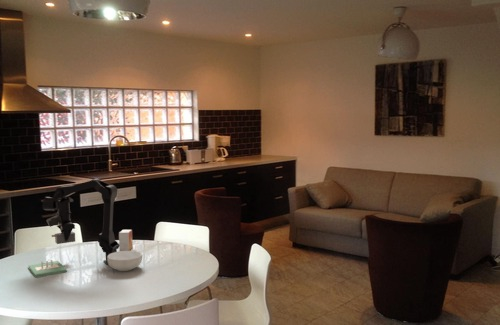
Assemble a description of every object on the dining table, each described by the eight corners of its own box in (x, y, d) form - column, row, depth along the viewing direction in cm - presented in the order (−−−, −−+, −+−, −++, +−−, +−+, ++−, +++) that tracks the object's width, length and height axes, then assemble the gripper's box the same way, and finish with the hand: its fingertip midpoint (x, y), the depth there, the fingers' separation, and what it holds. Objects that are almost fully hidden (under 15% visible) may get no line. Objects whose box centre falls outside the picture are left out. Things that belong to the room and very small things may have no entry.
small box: (129, 251, 275) (128, 232, 274) (119, 251, 275) (118, 232, 274) (132, 247, 283) (132, 229, 282) (123, 247, 283) (122, 229, 282)
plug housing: (75, 241, 258) (74, 233, 257) (53, 244, 252) (52, 236, 251) (73, 239, 261) (72, 231, 261) (51, 242, 255) (50, 234, 255)
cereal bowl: (133, 275, 233) (133, 260, 232) (101, 273, 236) (100, 258, 236) (148, 264, 250) (147, 250, 249) (117, 263, 253) (117, 249, 252)
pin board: (66, 271, 239) (66, 263, 239) (35, 277, 231) (35, 268, 231) (57, 262, 254) (57, 254, 254) (28, 267, 246) (28, 259, 246)
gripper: (43, 209, 259) (45, 238, 260) (51, 215, 243) (52, 246, 245) (65, 207, 265) (67, 235, 266) (74, 212, 249) (75, 242, 251)
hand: (65, 239), depth 257 cm, fingers closed on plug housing, 4 cm apart
